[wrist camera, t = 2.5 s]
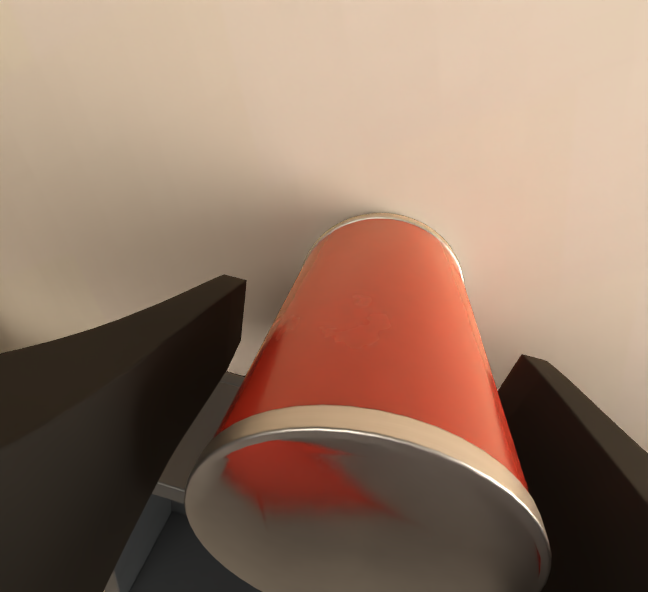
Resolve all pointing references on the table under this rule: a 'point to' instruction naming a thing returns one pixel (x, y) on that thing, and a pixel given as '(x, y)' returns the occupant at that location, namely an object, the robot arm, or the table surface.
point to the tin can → (370, 435)
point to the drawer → (178, 520)
